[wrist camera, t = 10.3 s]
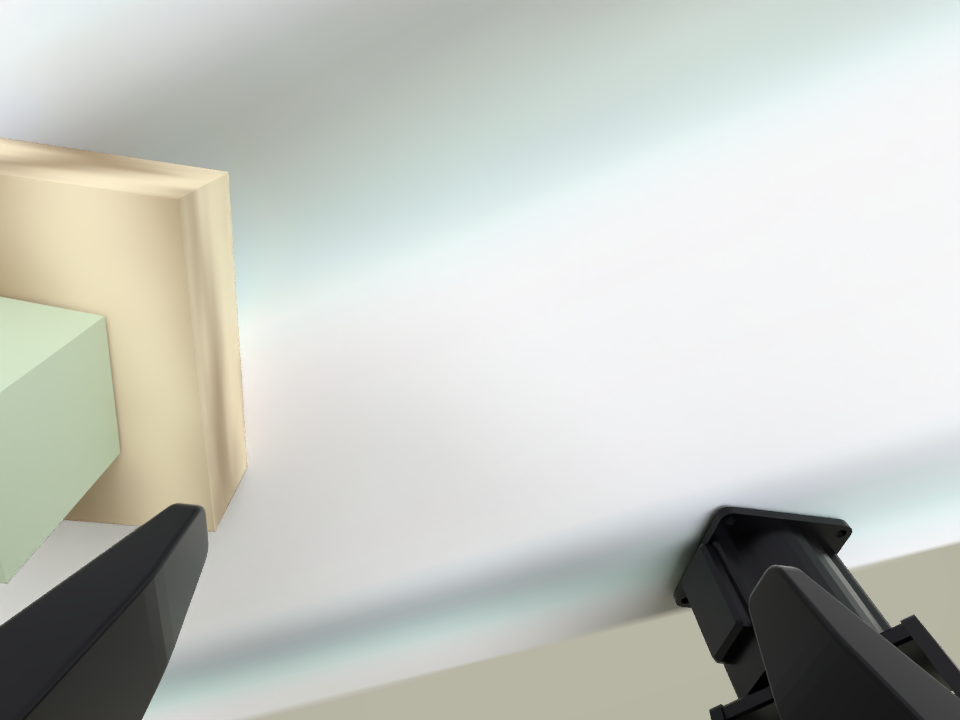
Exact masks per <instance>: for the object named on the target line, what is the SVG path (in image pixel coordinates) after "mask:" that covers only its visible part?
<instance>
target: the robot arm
mask: <svg viewBox="0 0 960 720" xmlns="http://www.w3.org/2000/svg"><path fill="white" fill-rule="evenodd" d="M851 533H852V529H851V528H850V526H849V525H848V524H847V523H846V522H845V521H844V520H841V519H832V518H824V517H815V516H806V515H798V514H789V513H781V512H772V511H763V510H755V509H746V508H738V507H725V508H722V509H721V510H719V511H718V512H717V514H716V516H715V517H714V519H713V521H712V523H711V525H710V527H709V529H708V530H707V532H706V534H705V536H704V538H703V540H702V542H701V543H700V545H699V547H698V549H697V551H696V553H695V555H694V556H693V558H692V560H691V562H690V564H689V566H688V568H687V569H686V571H685V573H684V575H683V577H682V579H681V581H680V582H679V584H678V586H677V588H676V590H675V592H674V595H673V596H674V598H675V601H676V603H677V605H678V606H681V607H689V608H692V610H693V613H694V615H695V617H696V619H697V622H698V625H699V627H700V629H701V632H702V634H703V636H704V639H705V641H706V644H707V646H708V648H709V651H710V653H711V655H712V657H713V658H714V660H715V661H716V662H717V663H721V664H724V666H725V669H726V671H727V673H728V676H729V678H730V680H731V682H732V685H733V687H734V689H735V692H736V694H737V696H738V699H737V700H735V701H733V702H731V703H729V704H727V705H725V706H723V705H721V704H720V705H718V706H716V707H714V708H712V709H710V710H709V711H710V716H711V720H960V670H959V668H958V667H957V666H956V664H955V663H954V662H953V661H952V660H951V658H950V657H949V656H948V655H947V654H946V652H945V651H944V650H943V649H942V648H941V646H940V645H939V644H938V643H937V642H936V640H935V639H934V638H933V637H932V636H931V634H930V633H929V632H928V631H927V630H926V628H925V627H924V626H923V625H922V624H921V623H920V621H919V620H918V619H917V618H916V616H915V615H911V616H909V617H907V618H905V619H903V620H901V621H900V622H901V624H899V625H897V626H895V627H893V628H891V626H890V625H889V623H888V622H887V621H886V620H885V618H884V617H883V615H882V614H881V613H880V612H879V610H878V609H877V607H876V606H875V605H874V604H873V602H872V601H871V599H870V598H869V597H868V595H867V594H866V593H865V592H864V590H863V589H862V588H861V586H860V585H859V584H858V582H857V581H856V580H855V579H854V577H853V576H852V574H851V573H850V572H849V570H848V569H847V568H846V566H845V565H844V564H843V562H842V561H841V560H840V558H839V557H838V556H837V553H838V552H839V551H840V549H841V548H842V546H843V545H844V544H845V542H846V541H847V539H848V538H849V537H850V535H851ZM207 552H208V533H207V521H206V512H205V509H204V507H203V506H200V505H194V504H184V503H175V504H172V505H170V506H168V507H167V508H166V509H164V510H163V511H161V512H160V513H158V514H157V515H156V516H154V517H153V518H151V519H150V520H149V521H147V522H146V523H144V524H143V525H142V526H140V527H139V528H137V529H136V530H135V531H133V532H132V533H130V534H129V535H128V536H126V537H125V538H123V539H122V540H120V541H119V542H118V543H116V544H115V545H113V546H112V547H111V548H109V549H108V550H106V551H105V552H104V553H102V554H101V555H99V556H98V557H97V558H95V559H94V560H92V561H91V562H90V563H88V564H87V565H85V566H84V567H82V568H81V569H80V570H78V571H77V572H75V573H74V574H73V575H71V576H70V577H68V578H67V579H66V580H64V581H63V582H61V583H60V584H59V585H57V586H56V587H54V588H53V589H52V590H50V591H49V592H47V593H46V594H45V595H43V596H42V597H40V598H39V599H37V600H36V601H35V602H33V603H32V604H30V605H29V606H28V607H26V608H25V609H23V610H22V611H21V612H19V613H18V614H16V615H15V616H14V617H12V618H11V619H9V620H8V621H7V622H5V623H4V624H2V625H1V626H0V720H142V718H143V716H144V714H145V712H146V710H147V708H148V706H149V704H150V702H151V699H152V697H153V695H154V693H155V691H156V689H157V687H158V685H159V683H160V681H161V678H162V676H163V674H164V672H165V670H166V667H167V665H168V663H169V660H170V657H171V655H172V652H173V649H174V647H175V644H176V641H177V638H178V636H179V633H180V630H181V627H182V625H183V622H184V619H185V616H186V613H187V611H188V608H189V605H190V602H191V599H192V597H193V594H194V591H195V588H196V586H197V583H198V580H199V577H200V574H201V572H202V569H203V566H204V563H205V560H206V557H207ZM951 691H953V692H954V693H955V694H953V693H952V692H951Z"/></svg>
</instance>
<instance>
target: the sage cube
mask: <svg viewBox="0 0 960 720" xmlns="http://www.w3.org/2000/svg"><path fill="white" fill-rule="evenodd" d="M119 454H120V444H119V436H118V427H117V418H116V410H115V401H114V392H113V384H112V375H111V366H110V358H109V349H108V340H107V332H106V323H105V316H102V315H96V314H91V313H86V312H80V311H75V310H70V309H64V308H59V307H54V306H48V305H43V304H38V303H32V302H27V301H22V300H16V299H11V298H6V297H0V583H5V584H8V582H9V581H10V580H11V579H12V578H13V577H14V575H15V574H16V573H17V572H18V571H19V570H20V569H21V567H22V566H23V565H24V564H25V563H26V562H27V560H28V559H29V558H30V557H31V556H32V555H33V553H34V552H35V551H36V550H37V549H38V548H39V547H40V545H41V544H42V543H43V542H44V541H45V540H46V538H47V537H48V536H49V535H50V534H51V533H52V531H53V530H54V529H55V528H56V527H57V526H58V525H59V523H60V522H61V521H62V520H63V519H64V518H65V516H66V515H67V514H68V513H69V512H70V511H71V509H72V508H73V507H74V506H75V505H76V504H77V503H78V501H79V500H80V499H81V498H82V497H83V496H84V494H85V493H86V492H87V491H88V490H89V489H90V487H91V486H92V485H93V484H94V483H95V482H96V481H97V479H98V478H99V477H100V476H101V475H102V474H103V472H104V471H105V470H106V469H107V468H108V467H109V465H110V464H111V463H112V462H113V461H114V460H115V459H116V457H117V456H118V455H119Z"/></svg>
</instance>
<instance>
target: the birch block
mask: <svg viewBox="0 0 960 720" xmlns="http://www.w3.org/2000/svg"><path fill="white" fill-rule="evenodd" d="M0 297H6V298H11V299H16V300H22V301H27V302H32V303H38V304H43V305H48V306H54V307H59V308H64V309H70V310H75V311H80V312H86V313H91V314H96V315H102V316H105V323H106V332H107V340H108V349H109V358H110V366H111V375H112V384H113V392H114V401H115V410H116V418H117V427H118V436H119V444H120V454H119V455H118V456H117V457H116V459H115V460H114V461H113V462H112V463H111V464H110V465H109V467H108V468H107V469H106V470H105V471H104V472H103V474H102V475H101V476H100V477H99V478H98V479H97V481H96V482H95V483H94V484H93V485H92V486H91V487H90V489H89V490H88V491H87V492H86V493H85V494H84V496H83V497H82V498H81V499H80V500H79V501H78V503H77V504H76V505H75V506H74V507H73V508H72V509H71V511H70V512H69V513H68V514H67V515H66V516H65V518H64V519H63V520H73V521H85V522H98V523H110V524H123V525H135V526H142V525H143V524H144V523H146V522H147V521H149V520H150V519H151V518H153V517H154V516H156V515H157V514H158V513H160V512H161V511H163V510H164V509H166V508H167V507H168V506H170V505H172V504H175V503H184V504H194V505H200V506H203V507H204V509H205V512H206V521H207V531H210V532H215V531H216V529H217V527H218V525H219V523H220V521H221V519H222V517H223V515H224V513H225V511H226V509H227V507H228V505H229V503H230V501H231V499H232V497H233V495H234V493H235V491H236V489H237V487H238V485H239V483H240V481H241V479H242V477H243V475H244V473H245V471H246V469H247V453H246V437H245V422H244V406H243V391H242V375H241V360H240V344H239V329H238V313H237V298H236V282H235V267H234V251H233V236H232V220H231V205H230V189H229V174H228V172H225V171H218V170H211V169H205V168H198V167H191V166H185V165H178V164H171V163H165V162H158V161H151V160H145V159H138V158H131V157H125V156H118V155H111V154H105V153H98V152H91V151H85V150H78V149H71V148H65V147H58V146H51V145H45V144H38V143H31V142H25V141H18V140H11V139H4V138H0Z"/></svg>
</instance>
